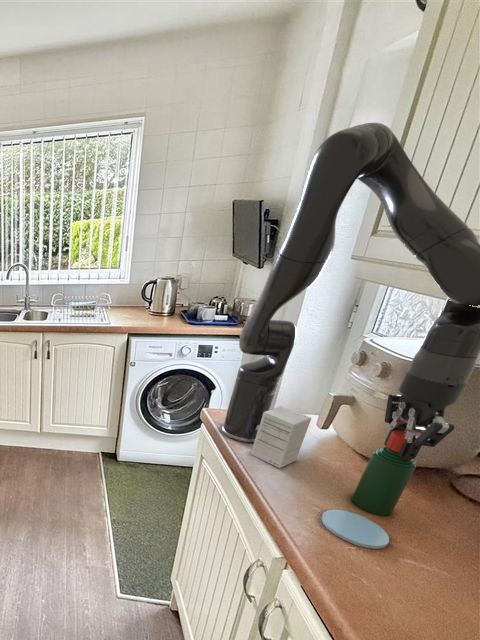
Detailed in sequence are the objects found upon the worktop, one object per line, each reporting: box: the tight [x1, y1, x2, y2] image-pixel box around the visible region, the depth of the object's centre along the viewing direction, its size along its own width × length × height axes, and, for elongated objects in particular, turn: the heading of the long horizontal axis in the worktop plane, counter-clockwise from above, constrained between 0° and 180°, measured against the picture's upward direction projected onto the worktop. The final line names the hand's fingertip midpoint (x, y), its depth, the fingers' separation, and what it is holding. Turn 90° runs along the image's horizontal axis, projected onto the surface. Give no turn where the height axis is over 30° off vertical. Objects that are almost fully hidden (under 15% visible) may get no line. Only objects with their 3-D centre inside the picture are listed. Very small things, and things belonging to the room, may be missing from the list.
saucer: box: [321, 509, 390, 550], centre depth 80 cm, size 10×10×1 cm
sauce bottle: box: [351, 446, 417, 516], centre depth 83 cm, size 6×6×17 cm
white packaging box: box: [250, 405, 312, 469], centre depth 101 cm, size 7×7×13 cm
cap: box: [385, 430, 419, 453], centre depth 80 cm, size 4×4×3 cm
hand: (398, 452), depth 81 cm, fingers closed on cap, 3 cm apart
